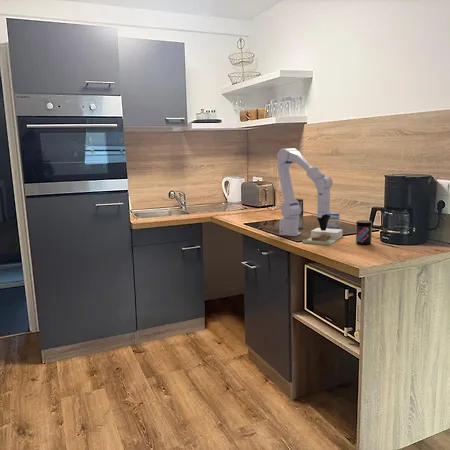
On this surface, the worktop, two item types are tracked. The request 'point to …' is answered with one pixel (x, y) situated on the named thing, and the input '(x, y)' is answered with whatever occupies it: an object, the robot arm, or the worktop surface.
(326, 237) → the tile
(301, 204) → the coffee box
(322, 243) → the mat
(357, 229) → the supplement container
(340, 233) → the white box
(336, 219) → the medicine box
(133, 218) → the worktop surface
